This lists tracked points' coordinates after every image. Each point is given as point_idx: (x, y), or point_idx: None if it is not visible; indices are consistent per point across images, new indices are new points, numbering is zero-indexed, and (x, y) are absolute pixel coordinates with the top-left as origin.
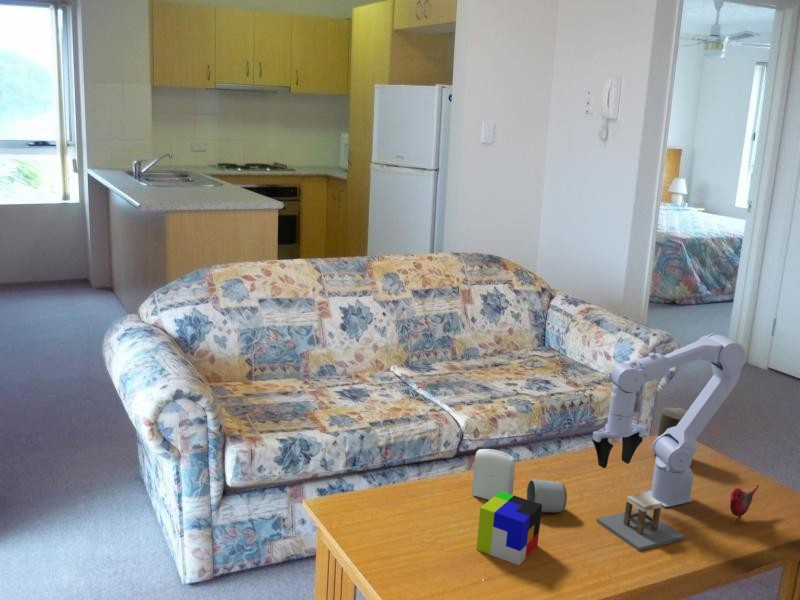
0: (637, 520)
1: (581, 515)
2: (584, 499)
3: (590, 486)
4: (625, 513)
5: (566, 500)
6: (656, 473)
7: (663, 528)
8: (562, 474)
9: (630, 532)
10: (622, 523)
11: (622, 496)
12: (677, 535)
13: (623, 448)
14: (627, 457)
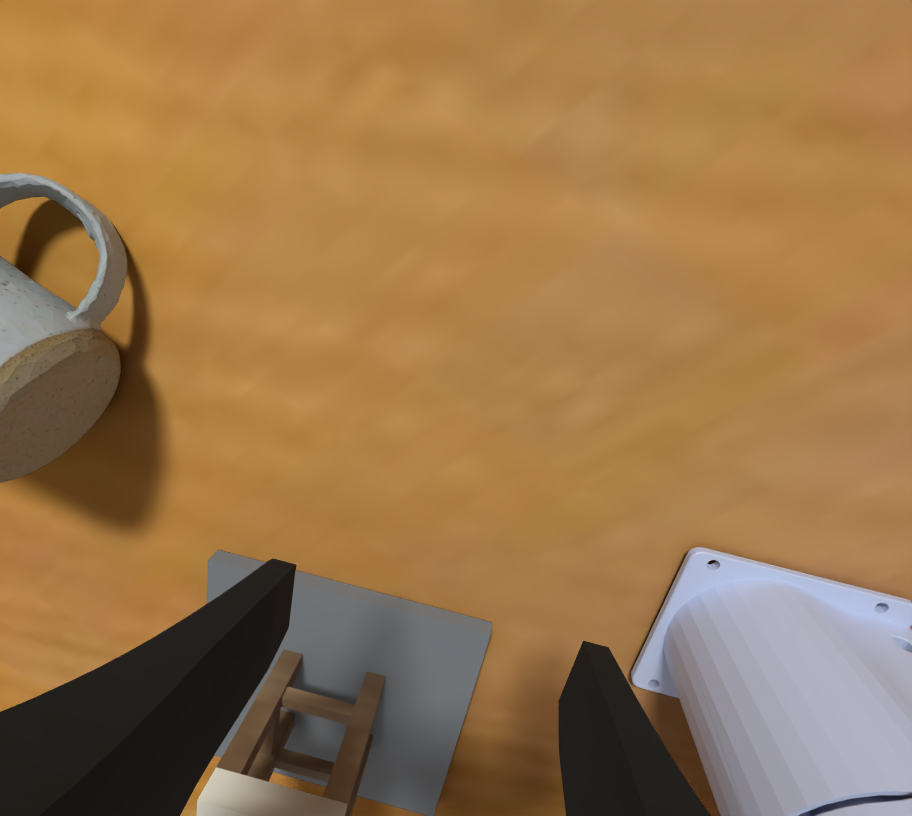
0: (366, 672)
1: (193, 477)
2: (336, 383)
3: (517, 294)
4: (255, 701)
5: (20, 476)
6: (743, 765)
7: (409, 755)
8: (508, 14)
9: (256, 693)
10: (283, 645)
11: (566, 489)
12: (410, 800)
13: (622, 780)
14: (571, 755)
